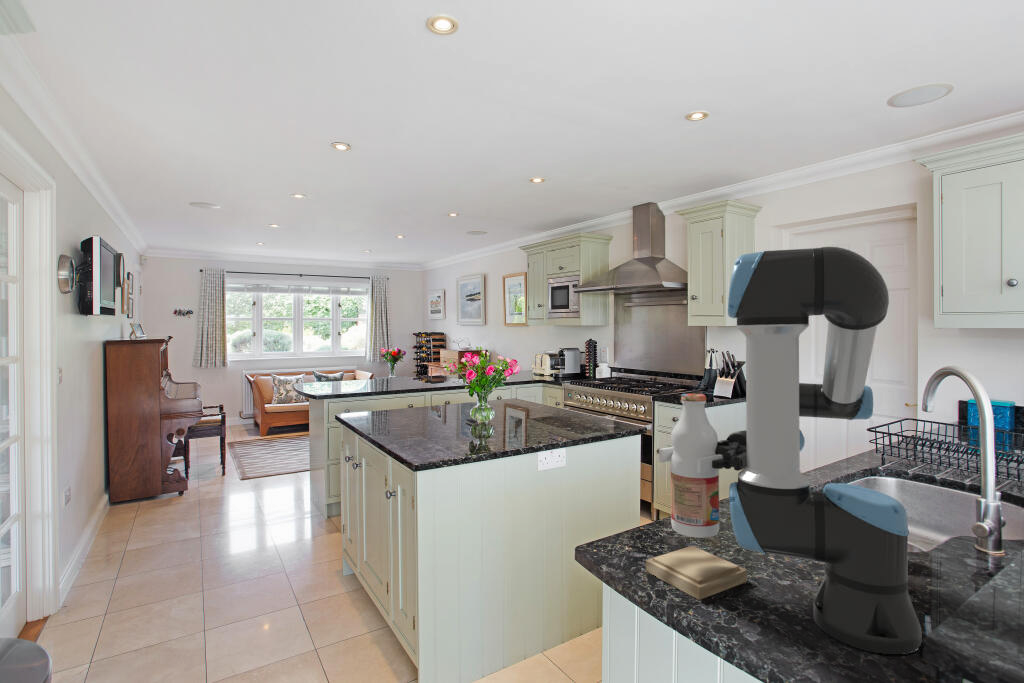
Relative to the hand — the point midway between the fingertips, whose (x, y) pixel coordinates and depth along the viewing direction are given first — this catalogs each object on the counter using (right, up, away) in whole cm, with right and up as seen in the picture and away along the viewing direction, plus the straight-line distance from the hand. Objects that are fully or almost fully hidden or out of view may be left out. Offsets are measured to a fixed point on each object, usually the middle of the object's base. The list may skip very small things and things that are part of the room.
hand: (678, 460), depth 106 cm
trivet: (+4, -24, +3) cm, 25 cm away
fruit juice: (+4, -15, +3) cm, 16 cm away
